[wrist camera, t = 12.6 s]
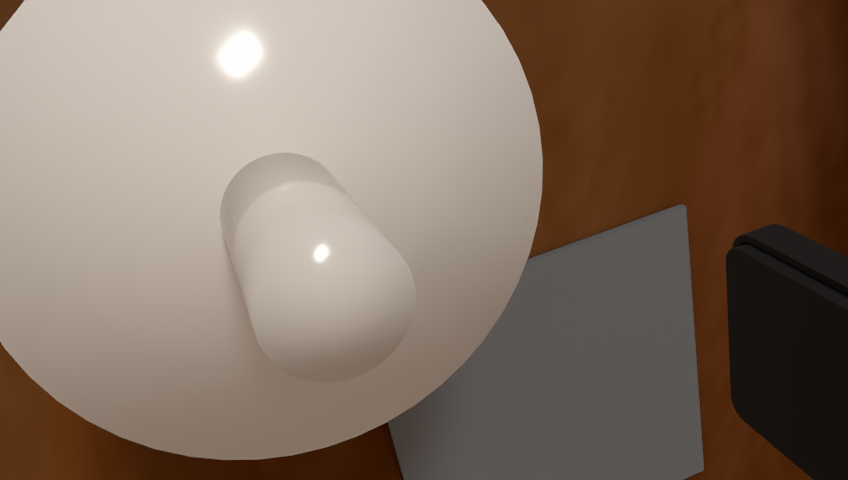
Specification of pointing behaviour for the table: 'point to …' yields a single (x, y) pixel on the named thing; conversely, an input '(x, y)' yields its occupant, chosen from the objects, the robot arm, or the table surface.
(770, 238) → the robot arm
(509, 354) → the mat
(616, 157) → the table surface
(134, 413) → the lid
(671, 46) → the table surface
